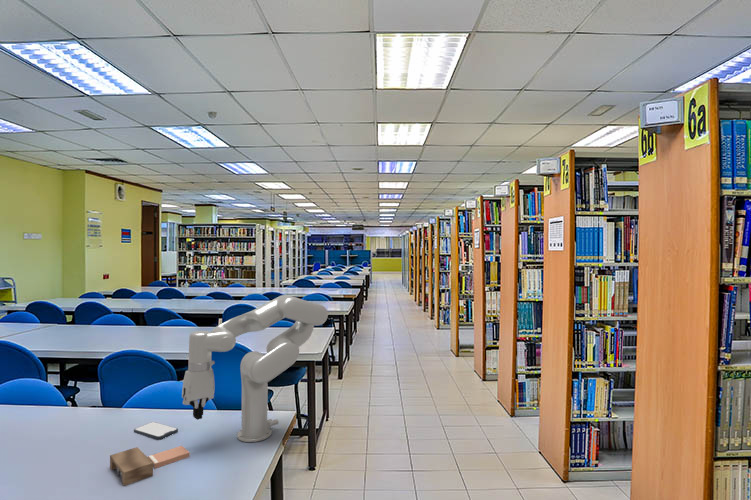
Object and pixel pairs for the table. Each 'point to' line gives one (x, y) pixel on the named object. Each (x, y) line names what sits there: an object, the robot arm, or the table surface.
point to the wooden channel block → (131, 465)
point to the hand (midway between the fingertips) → (198, 418)
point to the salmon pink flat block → (169, 456)
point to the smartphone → (155, 430)
